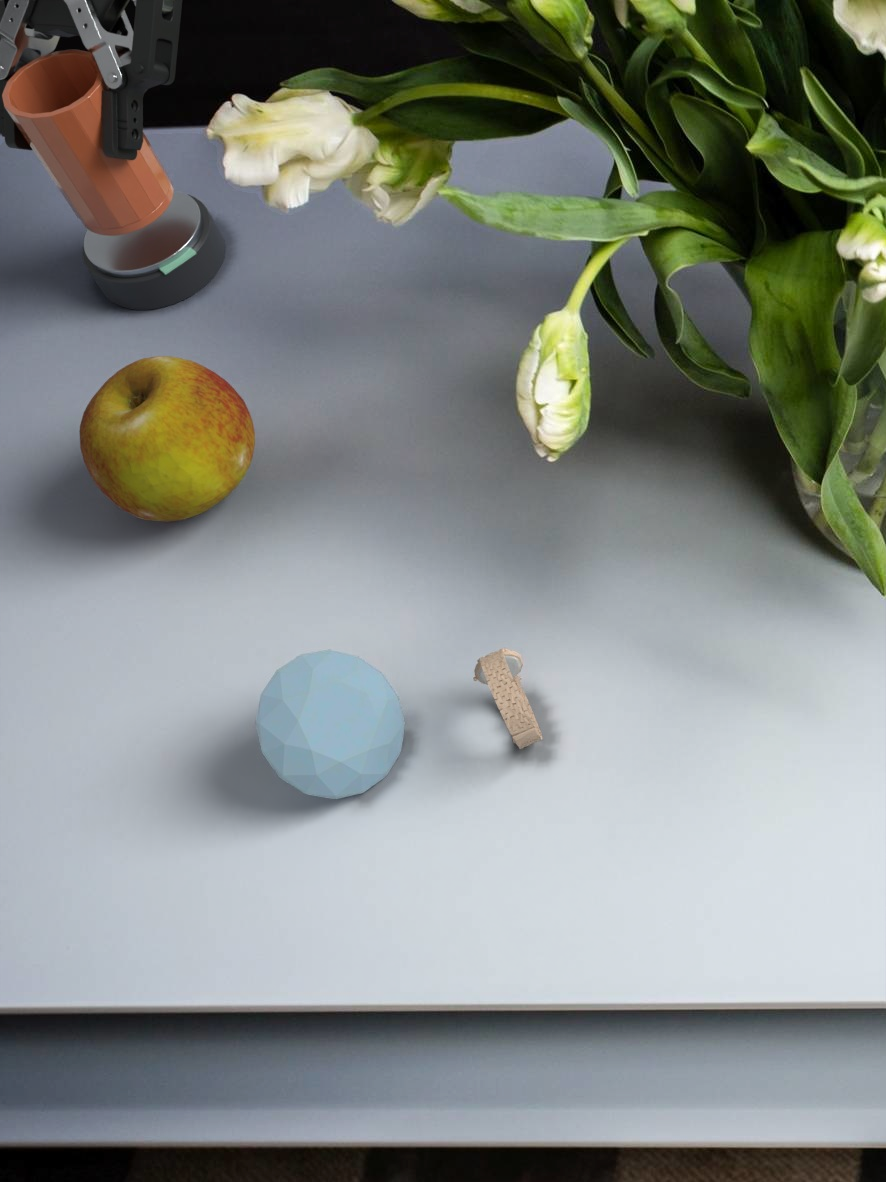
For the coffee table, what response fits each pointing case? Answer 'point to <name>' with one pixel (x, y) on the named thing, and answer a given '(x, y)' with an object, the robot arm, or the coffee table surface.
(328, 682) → the gemstone
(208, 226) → the scale
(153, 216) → the cup
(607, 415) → the coffee table surface
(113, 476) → the fruit
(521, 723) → the wristwatch
